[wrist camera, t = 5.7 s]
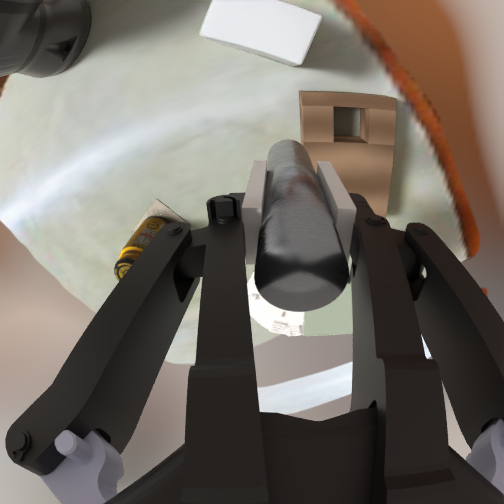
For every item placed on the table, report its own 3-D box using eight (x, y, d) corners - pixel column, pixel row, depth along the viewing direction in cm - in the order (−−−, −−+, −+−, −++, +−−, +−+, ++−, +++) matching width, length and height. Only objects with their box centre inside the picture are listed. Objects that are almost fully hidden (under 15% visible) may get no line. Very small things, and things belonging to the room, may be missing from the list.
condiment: (132, 231, 46) (102, 275, 37) (156, 198, 42) (124, 239, 33) (165, 255, 49) (141, 303, 39) (191, 225, 45) (169, 273, 35)
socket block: (299, 90, 32) (302, 92, 29) (385, 95, 31) (396, 98, 27) (301, 211, 42) (304, 224, 39) (376, 211, 41) (384, 223, 38)
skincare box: (216, 45, 29) (196, 35, 20) (233, 5, 25) (218, -18, 17) (293, 70, 30) (301, 66, 22) (310, 29, 27) (324, 13, 18)
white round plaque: (274, 231, 45) (274, 240, 43) (371, 272, 48) (375, 282, 46) (231, 309, 56) (229, 320, 54) (316, 336, 59) (317, 346, 57)
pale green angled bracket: (294, 174, 39) (308, 253, 23) (386, 175, 37) (449, 249, 22) (295, 239, 45) (303, 336, 30) (377, 237, 44) (418, 326, 28)
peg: (267, 178, 22) (255, 311, 10) (266, 139, 20) (251, 237, 9) (308, 179, 22) (341, 311, 10) (309, 139, 20) (356, 237, 8)
